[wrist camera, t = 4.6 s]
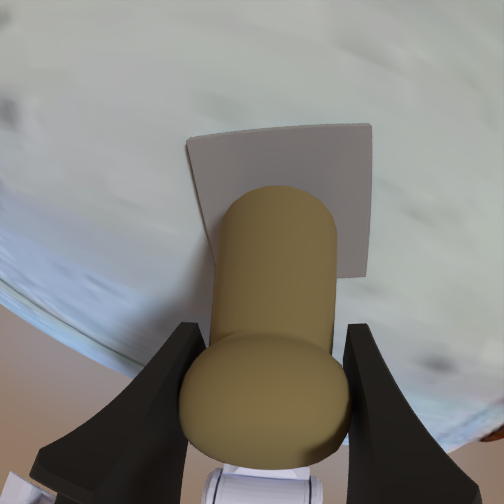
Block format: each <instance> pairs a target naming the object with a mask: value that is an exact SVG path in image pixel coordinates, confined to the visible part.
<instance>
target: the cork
mask: <svg viewBox="0 0 504 504" xmlns="http://www.w3.org/2000/svg"><path fill="white" fill-rule="evenodd" d="M336 279H337V229H336V225H335V222H334V218H333V216H332V214H331V213H330V212H329V210H328V209H327V208H326V206H325V205H324V204H323V202H322V201H320V200H319V199H317V198H316V197H314V196H313V195H311V194H310V193H308V192H307V191H304V190H300V189H297V188H293V187H290V186H264V187H261V188H258V189H255V190H252V191H249V192H247V193H245V194H244V195H242V196H241V197H240V198H238V199H237V200H236V201H234V202H233V203H232V204H231V206H230V207H229V209H228V210H227V212H226V213H225V215H224V216H223V219H222V223H221V228H220V232H219V241H218V251H217V261H216V271H215V282H214V293H213V304H212V316H211V328H210V340H209V347H208V348H207V349H205V350H204V351H203V352H202V353H201V354H200V355H199V356H198V357H197V358H196V359H195V361H194V362H193V363H192V365H191V367H190V368H189V370H188V371H187V373H186V374H185V377H184V380H183V383H182V387H181V390H180V395H179V403H178V406H179V422H180V424H181V427H182V430H183V432H184V435H185V436H186V438H187V439H188V441H189V442H190V444H192V445H193V446H194V447H195V448H196V449H198V450H199V451H200V452H202V453H204V454H205V455H207V456H208V457H210V458H212V459H215V460H217V461H220V462H222V463H226V464H230V465H234V466H238V467H243V468H250V469H257V470H286V469H295V468H301V467H306V466H309V465H312V464H315V463H318V462H320V461H322V460H324V459H325V458H327V457H328V456H330V455H331V454H333V453H335V452H336V451H337V450H338V449H339V447H340V445H341V444H342V442H343V441H344V439H345V437H346V435H347V433H348V431H349V429H350V426H351V421H352V416H353V411H354V408H353V399H352V392H351V389H350V386H349V383H348V380H347V377H346V375H345V373H344V370H343V368H342V365H341V364H340V363H339V362H338V361H337V360H335V359H334V358H333V357H332V349H333V336H334V320H335V302H336Z"/></svg>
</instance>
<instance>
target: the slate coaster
mask: <svg viewBox="0 0 504 504" xmlns="http://www.w3.org/2000/svg"><path fill="white" fill-rule="evenodd" d="M186 142H187V147H188V151H189V156H190V161H191V165H192V170H193V174H194V178H195V183H196V187H197V191H198V196H199V200H200V204H201V209H202V213H203V217H204V221H205V225H206V229H207V234H208V238H209V242H210V246H211V250H212V254H213V258H214V262H215V266H216V261H217V251H218V241H219V232H220V228H221V223H222V219H223V216H224V215H225V213H226V212H227V210H228V209H229V207H230V206H231V204H232V203H233V202H234V201H236V200H237V199H238V198H240V197H241V196H242V195H244V194H245V193H247V192H249V191H252V190H255V189H258V188H261V187H264V186H290V187H293V188H297V189H300V190H304V191H307V192H308V193H310V194H311V195H313V196H314V197H316V198H317V199H319V200H320V201H322V202H323V204H324V205H325V206H326V208H327V209H328V210H329V212H330V213H331V214H332V216H333V218H334V222H335V225H336V229H337V278H351V277H366V269H367V259H368V247H369V233H370V216H371V193H372V126H371V125H370V124H369V123H358V124H319V125H300V126H285V127H273V128H261V129H251V130H242V131H233V132H225V133H217V134H210V135H203V136H196V137H190V138H189V139H188V140H186Z"/></svg>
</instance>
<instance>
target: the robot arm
mask: <svg viewBox="0 0 504 504" xmlns="http://www.w3.org/2000/svg"><path fill="white" fill-rule="evenodd" d="M205 349H206V346H205V343H204V340H203V338H202V335H201V332H200V329H199V326H198V323H188V322H181V323H180V324H179V326H178V327H177V328H176V329H175V331H174V332H173V333H172V334H171V336H170V337H169V338H168V340H167V341H166V342H165V343H164V345H163V346H162V347H161V348H160V350H159V351H158V352H157V353H156V354H155V356H154V357H153V358H152V359H151V360H150V362H149V363H148V364H147V365H146V366H145V368H144V369H143V370H142V371H141V372H140V373H139V374H138V375H137V376H136V377H135V379H134V380H133V381H132V382H131V383H130V384H129V385H128V386H127V387H126V388H125V389H124V390H123V391H122V392H121V393H120V394H119V395H118V396H117V397H116V398H115V399H114V400H112V401H111V402H110V403H109V404H108V405H107V406H106V407H104V408H103V409H102V410H101V411H100V412H98V413H97V414H96V415H95V416H93V417H92V418H91V419H90V420H88V421H87V422H85V423H84V424H82V425H81V426H79V427H78V428H76V429H75V430H73V431H72V432H70V433H69V434H67V435H65V436H64V437H62V438H60V439H58V440H56V441H54V442H53V443H51V444H49V445H47V446H45V447H43V448H41V449H40V450H39V452H38V454H37V457H36V459H35V462H34V464H33V466H32V469H31V471H30V474H29V475H30V477H31V478H32V479H34V480H35V481H37V482H39V483H41V484H42V485H44V486H46V487H48V488H50V489H51V490H53V491H55V492H57V493H58V494H57V496H55V495H54V494H52V493H50V492H48V491H46V490H44V489H43V488H41V487H39V486H37V485H34V484H33V483H31V482H29V481H28V480H26V479H24V478H23V477H21V476H19V475H18V474H16V473H15V472H13V471H11V472H10V473H9V476H8V478H7V481H6V484H5V486H4V489H3V491H2V494H1V497H0V504H180V496H181V487H182V478H183V471H184V464H185V458H186V452H187V446H188V439H187V438H186V436H185V435H184V432H183V430H182V427H181V424H180V422H179V406H178V403H179V395H180V390H181V387H182V383H183V380H184V377H185V374H186V373H187V371H188V370H189V368H190V367H191V365H192V363H193V362H194V361H195V359H196V358H197V357H198V356H199V355H200V354H201V353H202V352H203V351H204V350H205ZM343 370H344V373H345V375H346V377H347V380H348V383H349V386H350V389H351V392H352V399H353V408H354V411H353V416H352V421H351V426H350V429H349V431H348V436H349V474H348V490H347V503H346V504H482V499H481V494H480V490H479V486H478V485H477V484H476V483H475V482H474V481H473V480H471V479H470V477H468V476H467V475H466V474H465V473H464V472H463V471H462V470H461V469H460V468H459V467H458V466H457V465H456V464H455V463H454V461H453V460H452V459H451V458H450V457H449V456H448V455H447V454H446V453H445V451H444V450H443V449H442V448H441V447H440V445H439V444H438V443H437V442H436V441H435V439H434V438H433V437H432V436H431V435H430V433H429V432H428V431H427V429H426V428H425V427H424V425H423V424H422V423H421V421H420V420H419V418H418V417H417V416H416V414H415V413H414V411H413V410H412V408H411V407H410V405H409V404H408V402H407V400H406V399H405V397H404V395H403V394H402V392H401V391H400V389H399V387H398V385H397V384H396V382H395V380H394V378H393V376H392V375H391V373H390V371H389V369H388V367H387V365H386V363H385V361H384V360H383V358H382V355H381V353H380V351H379V349H378V347H377V345H376V343H375V341H374V338H373V336H372V334H371V331H370V329H369V326H368V325H367V324H366V323H365V324H348V329H347V336H346V343H345V349H344V355H343ZM309 475H310V468H309V467H307V466H306V467H301V468H295V469H286V470H257V469H250V468H243V467H238V466H234V465H230V464H226V463H224V466H223V468H216V469H215V470H214V471H212V472H211V473H210V474H209V475H208V478H207V480H206V483H205V486H204V490H203V494H202V500H201V504H322V501H323V490H322V484H321V482H320V481H319V480H318V479H317V477H316V476H309Z"/></svg>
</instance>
